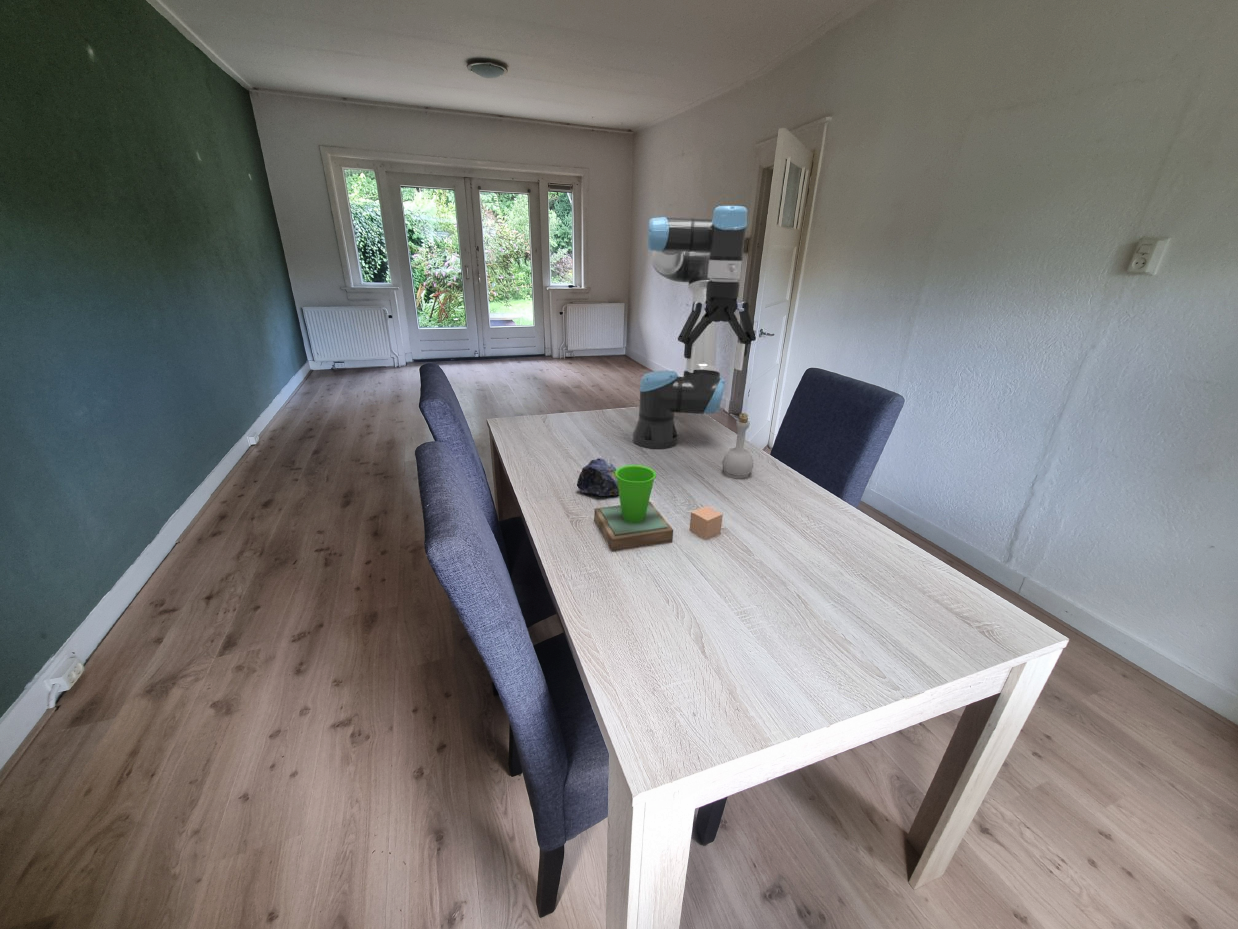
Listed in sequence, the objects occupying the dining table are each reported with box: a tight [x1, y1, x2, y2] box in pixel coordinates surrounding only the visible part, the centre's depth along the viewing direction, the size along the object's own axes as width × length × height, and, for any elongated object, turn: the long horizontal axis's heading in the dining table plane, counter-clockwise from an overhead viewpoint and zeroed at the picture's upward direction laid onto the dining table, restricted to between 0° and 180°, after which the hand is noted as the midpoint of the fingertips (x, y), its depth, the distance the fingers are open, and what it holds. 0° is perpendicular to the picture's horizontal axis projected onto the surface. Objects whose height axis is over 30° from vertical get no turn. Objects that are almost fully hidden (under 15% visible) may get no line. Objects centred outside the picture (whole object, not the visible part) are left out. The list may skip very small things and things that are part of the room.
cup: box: [615, 464, 657, 523], centre depth 109 cm, size 9×9×11 cm
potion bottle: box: [721, 412, 755, 479], centre depth 140 cm, size 9×9×18 cm
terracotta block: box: [689, 505, 723, 541], centre depth 112 cm, size 5×5×5 cm
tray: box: [593, 500, 674, 552], centre depth 112 cm, size 14×14×3 cm
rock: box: [576, 457, 619, 497], centre depth 129 cm, size 11×10×10 cm
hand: (714, 370), depth 124 cm, fingers open, 13 cm apart
